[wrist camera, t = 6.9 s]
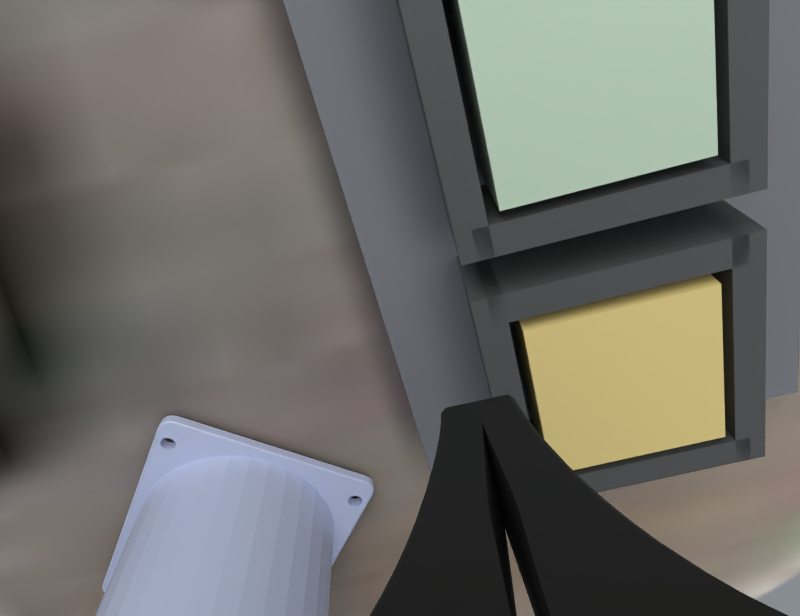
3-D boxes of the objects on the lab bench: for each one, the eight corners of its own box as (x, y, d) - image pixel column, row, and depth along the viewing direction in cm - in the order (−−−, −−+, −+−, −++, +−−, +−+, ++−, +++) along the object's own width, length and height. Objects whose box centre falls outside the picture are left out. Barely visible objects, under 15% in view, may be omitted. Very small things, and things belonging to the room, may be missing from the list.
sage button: (672, 129, 16) (718, 154, 14) (483, 179, 17) (499, 211, 14) (659, -90, 14) (710, -99, 12) (441, -26, 14) (453, -24, 12)
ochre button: (687, 386, 20) (725, 436, 18) (532, 421, 20) (551, 475, 18) (679, 245, 18) (721, 284, 15) (505, 288, 18) (523, 331, 16)
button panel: (764, 357, 22) (855, 449, 18) (427, 435, 23) (438, 538, 19) (773, -762, 11) (1013, -1197, 7) (134, -521, 12) (9, -773, 8)
